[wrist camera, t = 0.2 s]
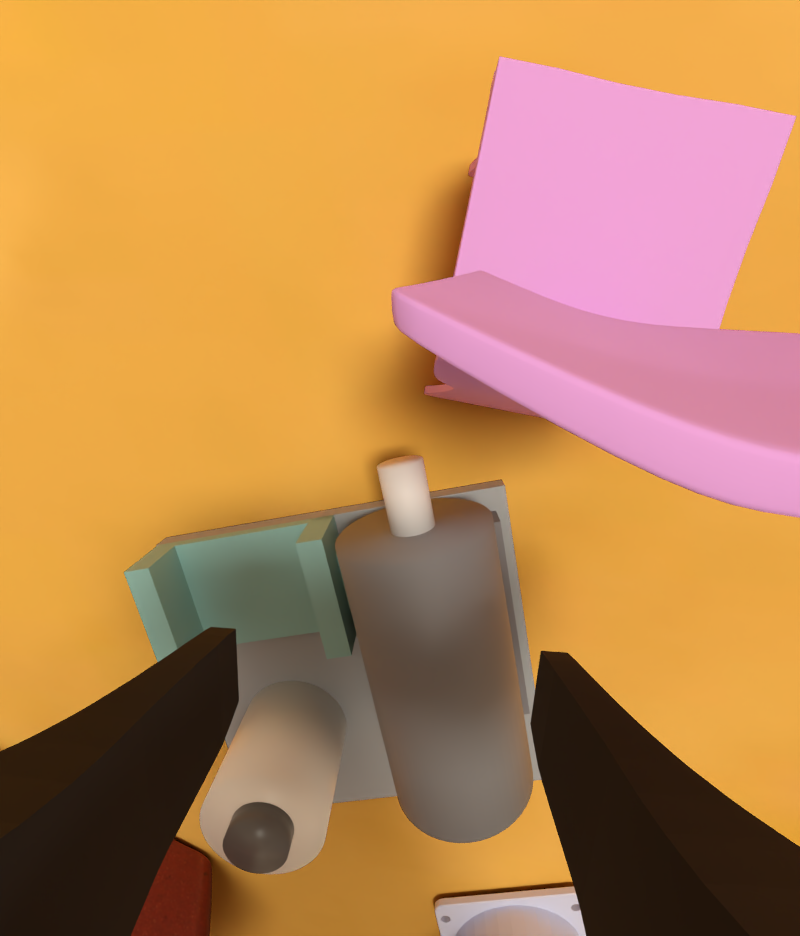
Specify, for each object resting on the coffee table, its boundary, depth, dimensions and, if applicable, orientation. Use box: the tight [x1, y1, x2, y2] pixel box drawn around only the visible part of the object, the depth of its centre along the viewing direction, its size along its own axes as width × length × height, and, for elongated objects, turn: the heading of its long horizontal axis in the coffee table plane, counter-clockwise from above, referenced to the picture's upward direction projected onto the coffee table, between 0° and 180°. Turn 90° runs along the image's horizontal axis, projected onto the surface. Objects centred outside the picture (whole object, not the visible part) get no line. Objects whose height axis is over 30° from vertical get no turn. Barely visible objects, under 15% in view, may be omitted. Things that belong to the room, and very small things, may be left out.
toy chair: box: [392, 57, 800, 517], centre depth 11 cm, size 8×9×15 cm
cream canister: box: [200, 681, 346, 874], centre depth 20 cm, size 5×5×6 cm
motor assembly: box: [124, 455, 542, 843], centre depth 19 cm, size 17×15×6 cm
